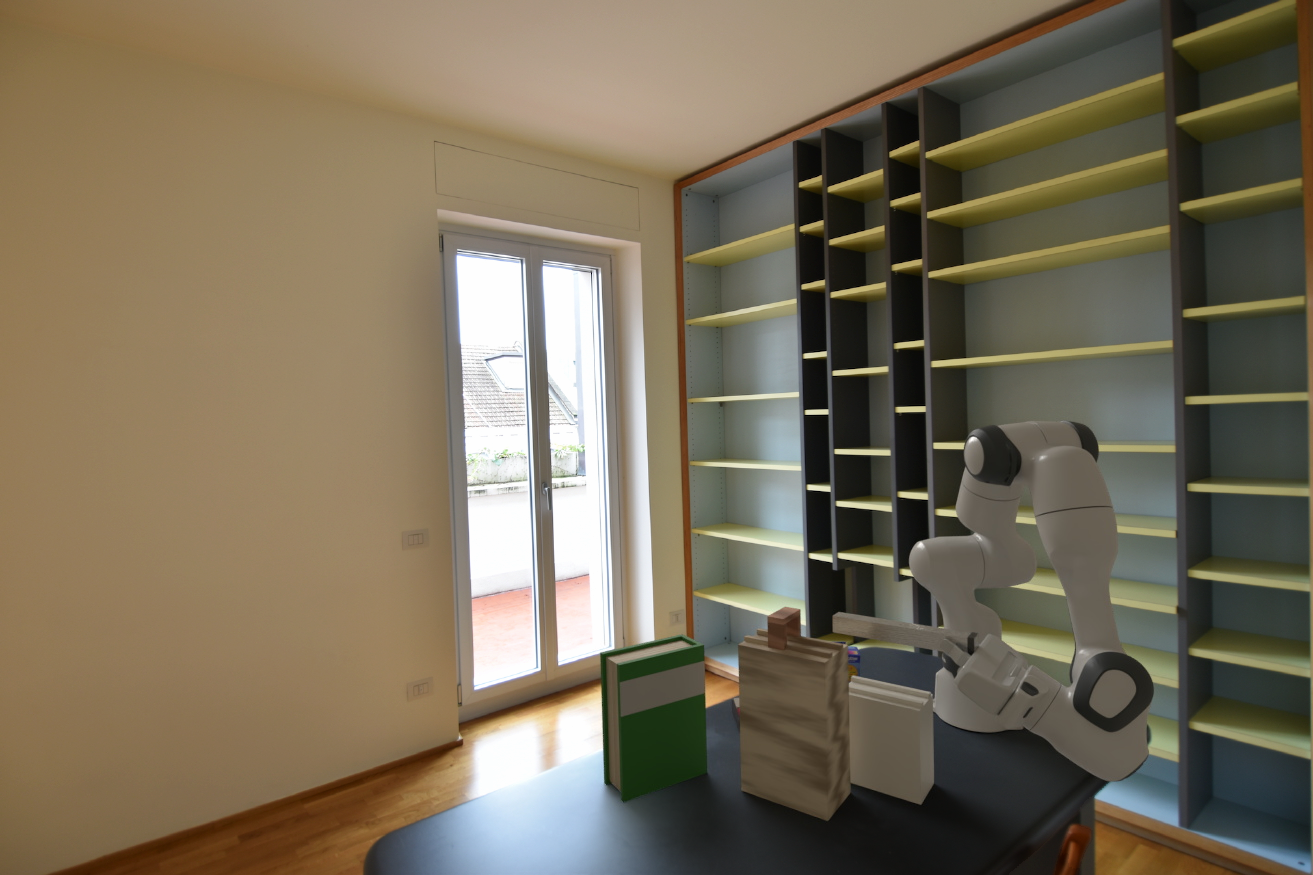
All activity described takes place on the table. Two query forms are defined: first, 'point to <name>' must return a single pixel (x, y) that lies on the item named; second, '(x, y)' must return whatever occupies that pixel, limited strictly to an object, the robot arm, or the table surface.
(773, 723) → the paper bag with handle
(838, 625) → the grey square bar
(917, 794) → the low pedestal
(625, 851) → the table surface
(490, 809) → the table surface
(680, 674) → the hardback book
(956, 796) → the table surface
